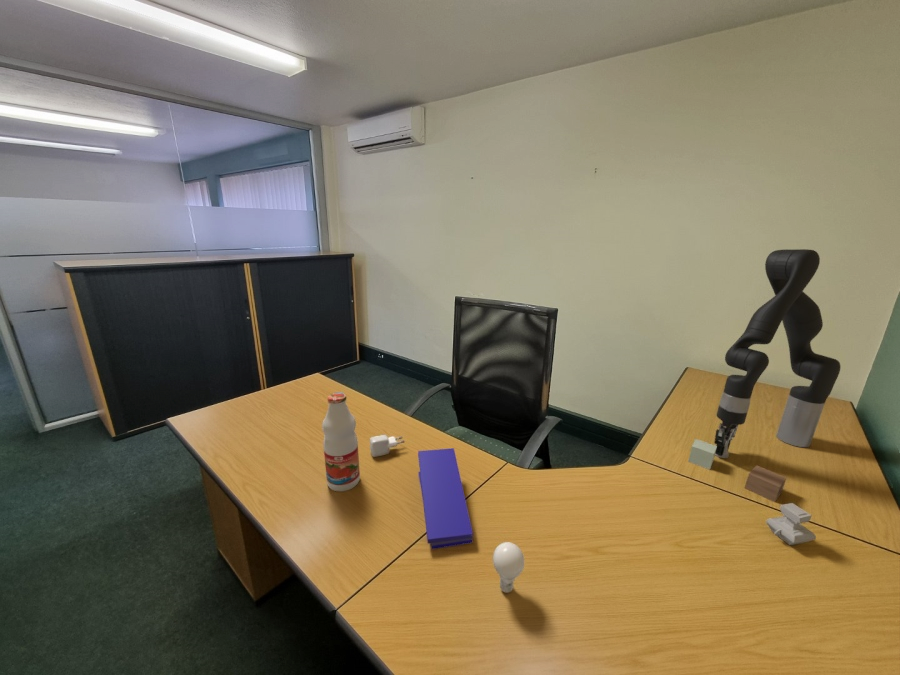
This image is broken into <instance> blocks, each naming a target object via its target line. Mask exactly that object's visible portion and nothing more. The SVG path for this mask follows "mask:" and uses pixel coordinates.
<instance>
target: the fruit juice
mask: <svg viewBox="0 0 900 675" xmlns="http://www.w3.org/2000/svg"><path fill="white" fill-rule="evenodd" d="M327 403H328V407H327V412H326V414H325V417H324V419H323V421H322V424H321V428H322V432H323V435H324V438H323V454H324V464H325V465H324V466H325V474H326V484H327V486H328V488H329V489H330V490H332V491H333V492H346V491H350V490H351V489H353V488H355V487H356V486H357V485H358V483H359V481H360V478H361V476H360V474H361V472H360V460H359V458H360V457H359V441H358V437H357V433H356V432H355V430H356V428H357V427H356V426H357V422H356V418H355V416H354V414H352V413H351V410H350V409H349V406H348V405H347V395H346V393H344V392H334V393H331V394H329V395H328V396H327Z"/></svg>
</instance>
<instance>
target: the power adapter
mask: <svg viewBox="0 0 900 675" xmlns="http://www.w3.org/2000/svg"><path fill="white" fill-rule="evenodd" d="M401 439H403V436H397V437H395V436H394V435H393V436H392V435H391V436H389V437H388V436H387V434H380V435H376V436H371V437H370V438H369V446H370V447H369V449H370V454H371V455H372V457H374V458H375V457H380V456H384V455H385V456H386V455H388V454H389V453H390V448H394V447H398V445H399V444H403V443H405V440H401ZM397 440H400V441H397Z"/></svg>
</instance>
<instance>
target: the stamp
mask: <svg viewBox="0 0 900 675" xmlns="http://www.w3.org/2000/svg"><path fill="white" fill-rule="evenodd" d="M779 510H780V513H781V514H782V515H783V516H778V517H771V518H767V519H766V520H765V523H766V525H767V527H768V528H769V529H770V531H771V532H773V534H774V535H775V536H777V537H778V538H780V539H781V540H782V541H784V542H785V543H787V544H788V545H789V546H793V545H799V544H804V543H807V542H810V541H813V540H816V538H817V537H816V534H815V533H814V532H813V531H811V530H810V529H808V528H807V527H806V526H804V525H802V524H806V523H809V522H810V520H811V518H812V514H810V513H809V512H807V511H805V510H804V509H802V508H801V507H800V506H798V505H796V504H795V503H793V502H791V503H790V502H789V503H785V504H780V507H779Z"/></svg>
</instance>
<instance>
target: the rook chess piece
mask: <svg viewBox="0 0 900 675" xmlns="http://www.w3.org/2000/svg"><path fill="white" fill-rule="evenodd" d="M726 437H728V436H726ZM730 440H731V438H730ZM721 442H722V441H721ZM728 443H729V440H728V441H727V443H726V446H725V449H724V453H723V455H722V456H720V455H718V454H715V457H718V458H720V459H728V458H729V457H730V456H729V455H730V451H729V449H728Z"/></svg>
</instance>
